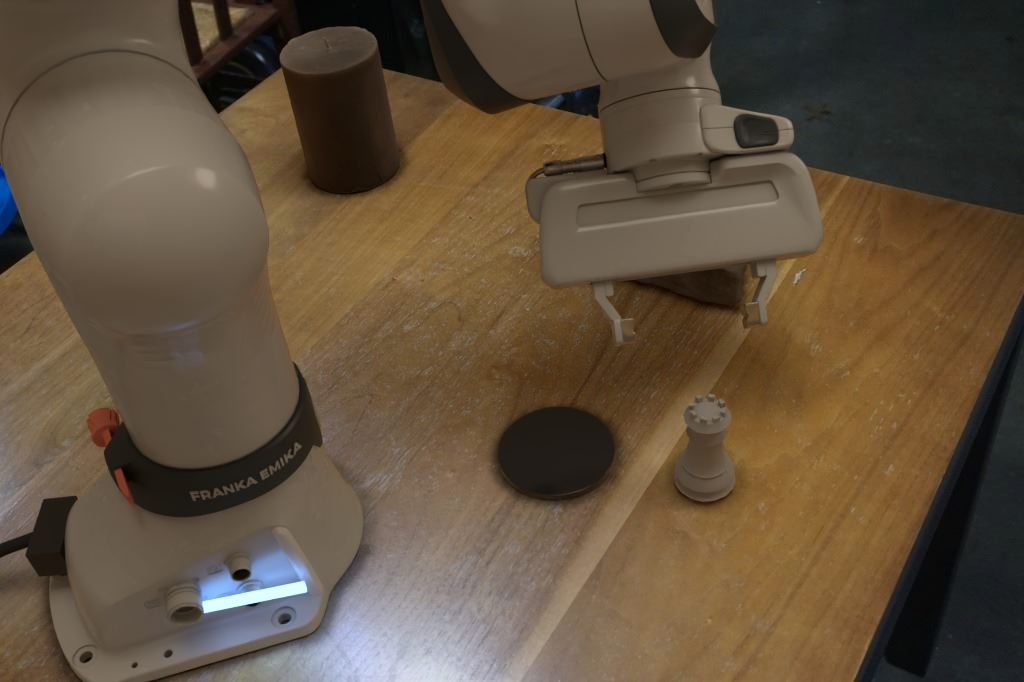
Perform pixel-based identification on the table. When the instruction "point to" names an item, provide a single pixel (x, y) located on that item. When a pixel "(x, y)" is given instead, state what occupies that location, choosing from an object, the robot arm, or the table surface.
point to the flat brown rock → (705, 284)
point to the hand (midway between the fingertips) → (690, 336)
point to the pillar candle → (341, 108)
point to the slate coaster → (556, 453)
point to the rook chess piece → (705, 452)
